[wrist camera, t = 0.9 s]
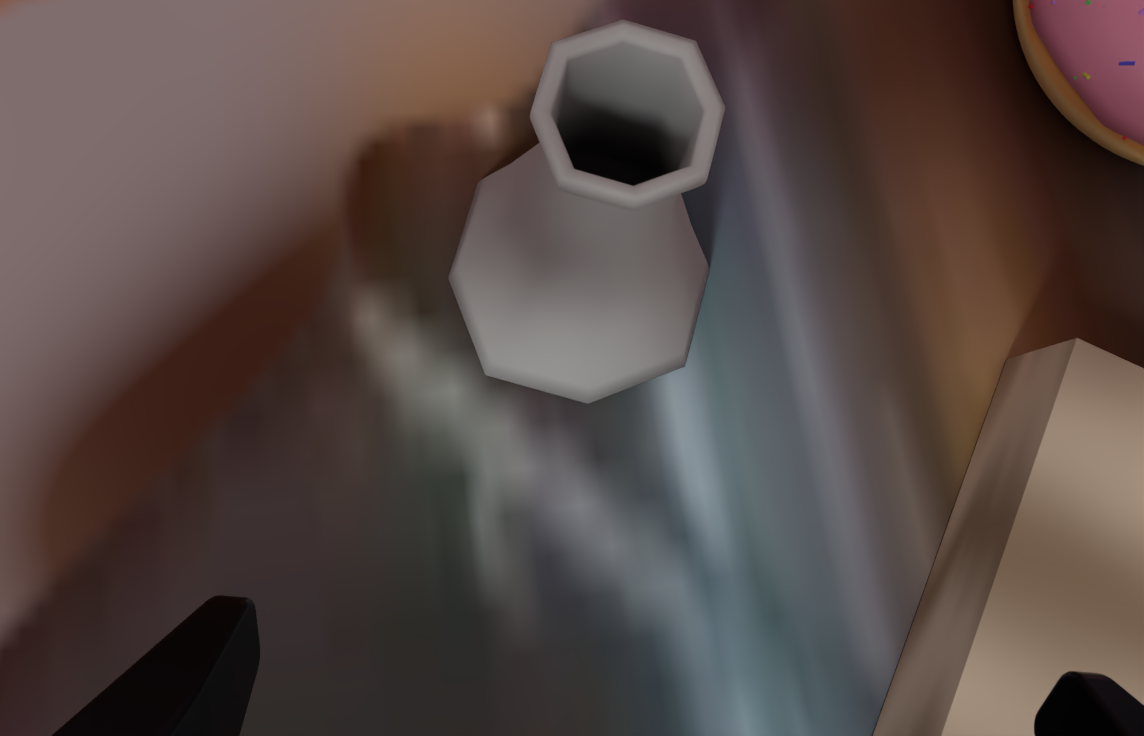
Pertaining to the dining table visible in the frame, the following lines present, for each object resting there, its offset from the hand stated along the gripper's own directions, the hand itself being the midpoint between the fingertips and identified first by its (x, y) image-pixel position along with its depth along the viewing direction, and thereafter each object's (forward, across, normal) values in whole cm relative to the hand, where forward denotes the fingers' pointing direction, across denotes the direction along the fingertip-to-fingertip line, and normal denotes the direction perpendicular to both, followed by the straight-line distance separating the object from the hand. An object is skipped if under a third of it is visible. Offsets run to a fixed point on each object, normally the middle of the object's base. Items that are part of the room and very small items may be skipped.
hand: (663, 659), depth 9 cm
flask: (+15, +1, +3) cm, 15 cm away
